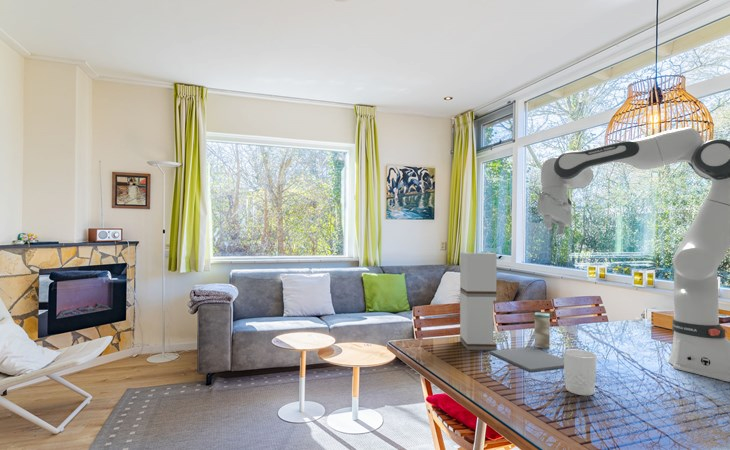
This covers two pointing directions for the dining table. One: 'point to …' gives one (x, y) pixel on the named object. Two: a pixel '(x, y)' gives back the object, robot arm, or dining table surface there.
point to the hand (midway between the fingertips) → (555, 231)
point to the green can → (542, 330)
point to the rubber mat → (530, 358)
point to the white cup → (579, 371)
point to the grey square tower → (477, 300)
